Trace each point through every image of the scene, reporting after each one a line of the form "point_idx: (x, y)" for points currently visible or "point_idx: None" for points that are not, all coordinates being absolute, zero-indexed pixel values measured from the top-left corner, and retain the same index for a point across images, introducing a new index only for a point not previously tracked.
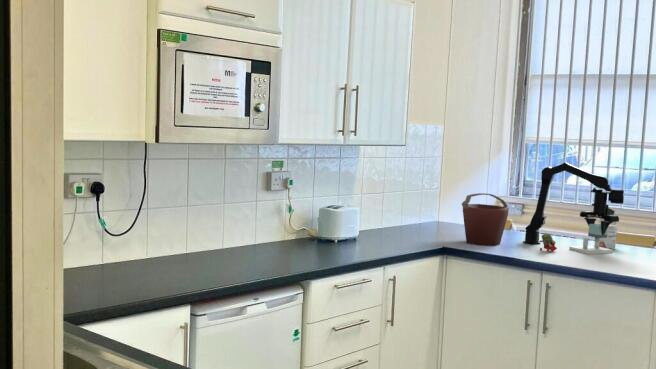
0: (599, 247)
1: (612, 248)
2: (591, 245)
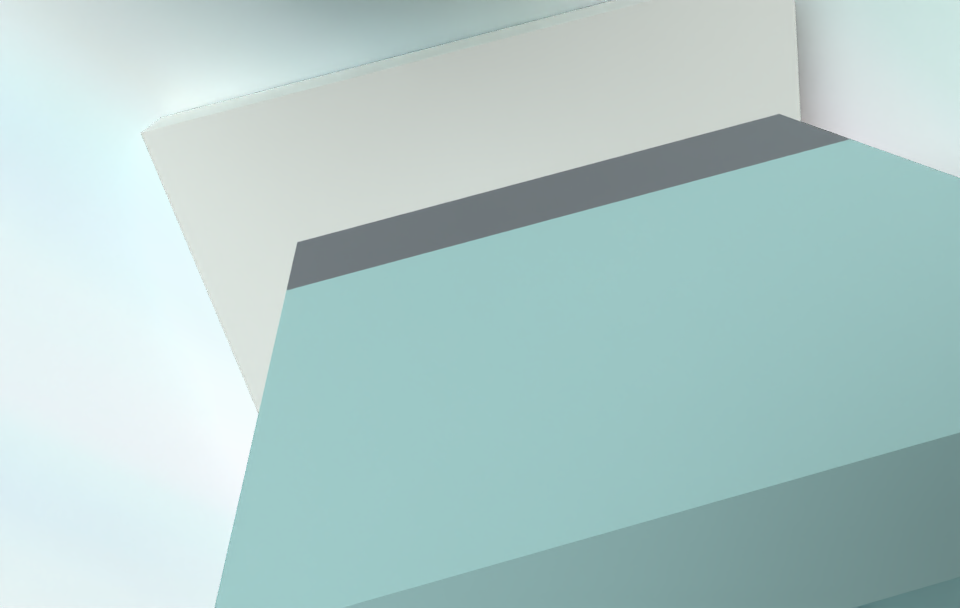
0: (484, 148)
1: None
2: (189, 186)
